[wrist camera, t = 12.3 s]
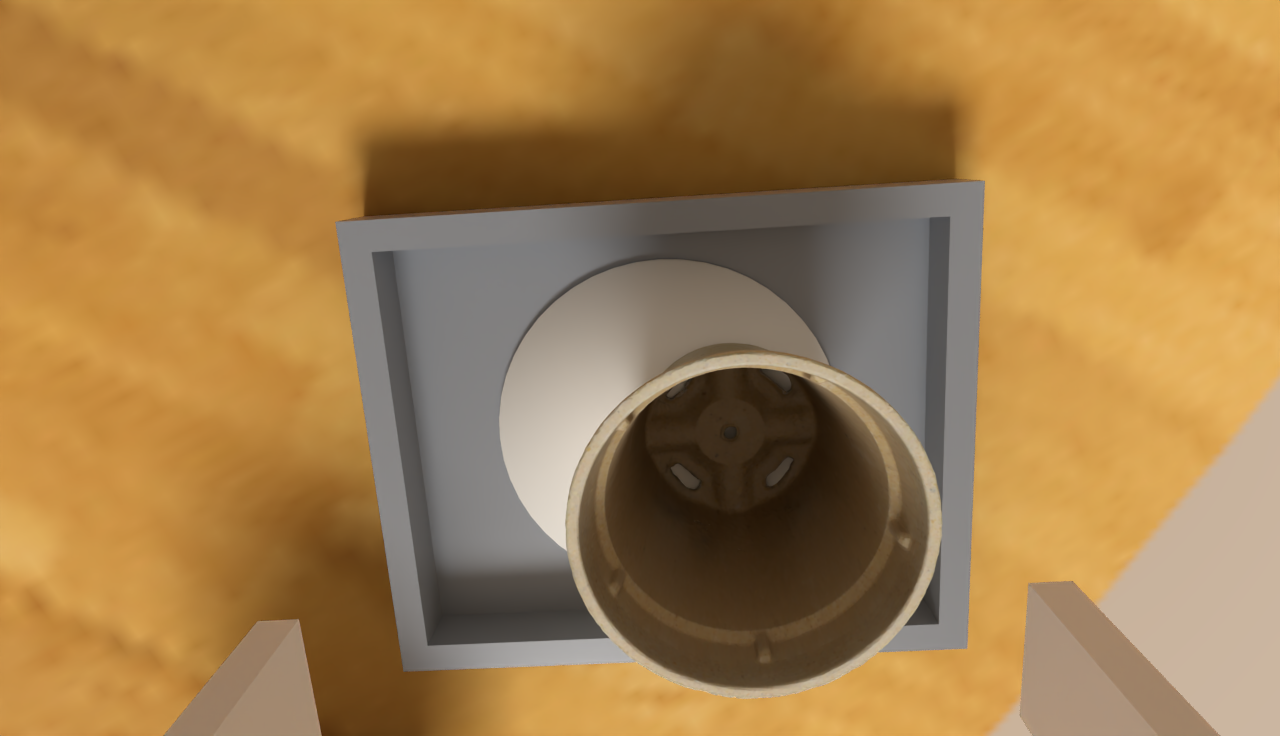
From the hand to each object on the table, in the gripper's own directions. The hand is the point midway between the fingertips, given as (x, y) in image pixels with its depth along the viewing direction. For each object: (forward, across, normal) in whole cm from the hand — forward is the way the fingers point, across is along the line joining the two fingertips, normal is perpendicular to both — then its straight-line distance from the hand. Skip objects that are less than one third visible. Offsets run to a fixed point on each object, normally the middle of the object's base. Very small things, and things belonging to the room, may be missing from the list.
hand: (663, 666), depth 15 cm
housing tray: (+15, 0, -1) cm, 15 cm away
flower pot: (+15, +2, -1) cm, 15 cm away
